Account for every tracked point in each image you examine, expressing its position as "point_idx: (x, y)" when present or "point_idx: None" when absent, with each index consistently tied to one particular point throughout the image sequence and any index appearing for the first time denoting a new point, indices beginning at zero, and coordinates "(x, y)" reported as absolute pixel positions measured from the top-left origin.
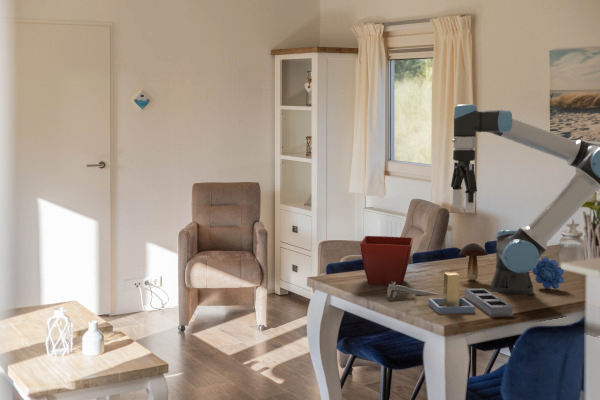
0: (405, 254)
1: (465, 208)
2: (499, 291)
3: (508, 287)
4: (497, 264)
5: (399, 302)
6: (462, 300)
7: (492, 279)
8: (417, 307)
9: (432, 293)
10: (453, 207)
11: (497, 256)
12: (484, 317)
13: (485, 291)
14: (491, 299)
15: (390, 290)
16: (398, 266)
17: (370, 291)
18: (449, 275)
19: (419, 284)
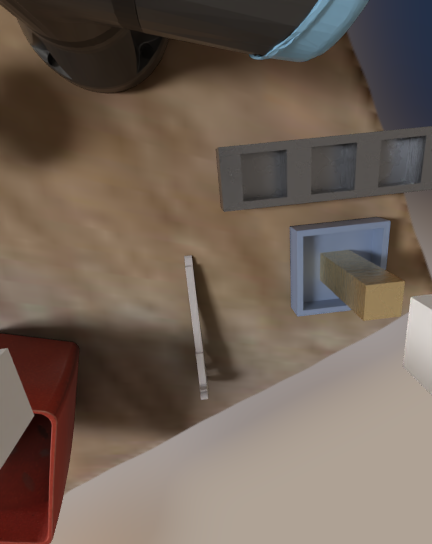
0: (66, 401)
1: (428, 389)
2: (147, 73)
3: (157, 36)
4: (80, 39)
5: (245, 359)
6: (309, 234)
7: (76, 74)
8: (290, 328)
9: (195, 288)
10: (32, 417)
11: (63, 24)
12: (393, 196)
13: (254, 152)
14: (359, 163)
15: (207, 386)
16: (73, 389)
17: (142, 408)
18: (400, 310)
19: (41, 295)
